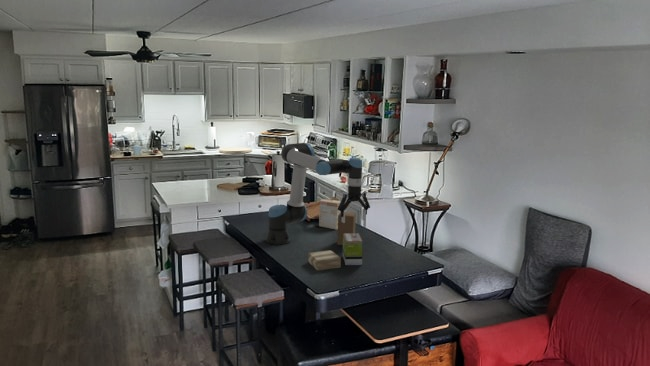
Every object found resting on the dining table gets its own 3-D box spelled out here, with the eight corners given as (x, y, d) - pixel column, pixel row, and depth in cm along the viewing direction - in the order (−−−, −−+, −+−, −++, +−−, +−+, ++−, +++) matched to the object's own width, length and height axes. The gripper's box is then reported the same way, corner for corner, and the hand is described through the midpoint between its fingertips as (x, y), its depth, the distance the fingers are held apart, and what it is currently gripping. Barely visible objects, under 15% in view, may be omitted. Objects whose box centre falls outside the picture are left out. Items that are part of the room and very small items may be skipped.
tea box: (341, 256, 302) (342, 232, 299) (358, 256, 303) (359, 232, 300) (345, 265, 288) (345, 240, 285) (362, 265, 288) (363, 240, 286)
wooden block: (352, 246, 321) (353, 216, 317) (337, 245, 323) (338, 215, 319) (354, 241, 331) (355, 212, 327) (339, 240, 333) (340, 211, 329)
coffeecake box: (341, 227, 363) (342, 201, 359) (336, 229, 357) (337, 203, 353) (323, 224, 370) (324, 198, 367) (318, 226, 364) (319, 200, 361)
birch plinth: (308, 262, 291) (308, 252, 290) (330, 259, 297) (330, 250, 296) (317, 271, 279) (317, 260, 278) (340, 268, 284) (340, 257, 283)
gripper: (338, 187, 278) (337, 224, 282) (377, 185, 289) (375, 220, 293) (332, 185, 284) (331, 221, 289) (370, 182, 295) (368, 217, 299)
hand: (353, 221), depth 291 cm, fingers open, 13 cm apart
